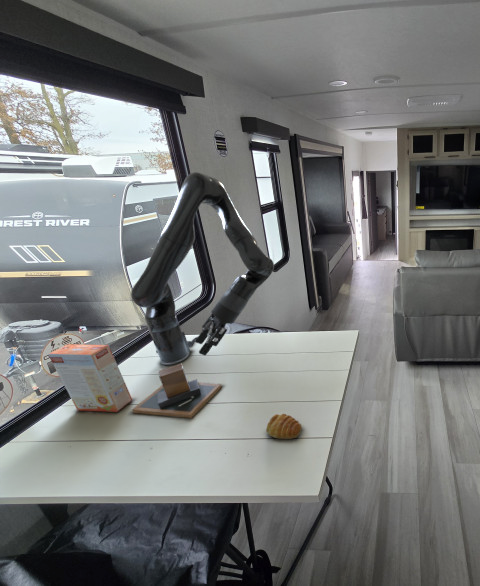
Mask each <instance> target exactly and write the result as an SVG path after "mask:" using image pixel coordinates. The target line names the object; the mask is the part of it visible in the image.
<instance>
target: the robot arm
mask: <svg viewBox="0 0 480 586" xmlns="http://www.w3.org/2000/svg"><path fill="white" fill-rule="evenodd" d="M201 204H205V205H208V206H210V207H211V208H212V209H213V210H214V211H215V212H216V214H218V216H219V218H220V219H221V223H222V228H223V232H224V234H225V236H226V237H227V239H228V241H229V242H230V243H231V245H232V246H233V248H234V249H235V250H236V251H237V252H238V255H239V257H240V259H241V261H242V263H243V265H244V266H245V268H246V269H247V271H246V272H245V273H244V274H243V275H239V276H237V277H236V278H235V279H234V280H233V282H232V284H231V285H230V286H229V288H228V289H227V290H226V291H225V292H224V293H223V295H222V296H221V297H220V298H219V300H218V302H217V303H216V304H215V305H214V307H213V308H212V309H211V314H210V315H209V316H208V318H207V319H206V321H205V322H204V323H203V325H202V326H201V332H200V334H199V335H197V336H196V337H194V338H193V339H192V340H191V341H190V340H188V339H187V337H186V334H185V331H182V329H181V326H180V323H179V319H178V317H177V314H176V303H175V299H174V296H173V292H172V290H171V286H170V284H169V280H170V278H171V276H172V275H173V274H174V272H176V271H177V269H178V268H179V267H180V266H181V264H182V263H183V261H184V260H185V259H186V257H187V256H188V255H189V253H190V251H191V249H192V247H193V245H194V243H195V239H196V231H195V230H196V229H195V222H194V221H195V216H196V213H197V211H199V210H198V209H199V208H200V206H201ZM274 269H275V263H274V261H273V259H272V258H270V257H269V256H268V255H266V254H265V253H264V252H263V250H262V249H261V248H260V246H259V245H258V241H257V239H256V238H255V237H254V235H253V234H252V232H251V230H249V228H248V227H247V225H246V224H245V223H244V221H243V220H242V218H241V217H240V215H239V213H238V211H237V209H236V207H235V206H234V203H233V202H232V200H231V198H230V196H229V193H228V192H227V191H226V187H225V186H224V185H223V183H222V182H221V181H220V180H219V179H217V178H215V177H212V176H210V175H207V174H204V173H201V172H197V171H194V172H191V173H189V174H188V175H187V176H186V177H185V178H184V181H183V183H182V185H181V187H180V190H179V193H178V196H177V199H176V202H175V204H174V207H173V209H172V211H171V214H170V216H169V218H168V221H167V223H166V225H165V226H164V228H163V230H162V232H161V234H160V236H159V238H158V239H157V242H156V244H155V247H154V249H153V251H152V253H151V255H150V258H149V260H148V263H147V265H146V267H145V269H144V270H143V272H142V274H141V275H140V277H139V278H138V279H137V281H136V282H135V284H134V285H133V287H132V288H131V292H130V297H131V300H132V302H133V303H134V304H135V305H136V306H138V307H140V308H145V314H144V321H145V323H146V326H147V328H148V332H149V334H150V337H151V338H152V342H153V345H154V346H155V349H156V350H155V352H156V354H157V356H158V358H159V361H160V364H161V365H163V366H171V365H172V366H173V365H177V364H180V363H181V362H183V361H184V360H186V359H187V358H189V356H190V354H191V349H190V348H192V347H193V345H194V342H195V343H197V344H199V345H202V346H201V348H200V349H199V350H198V354H199V355H202V356H206V355H207V354H208V353H209V352H210V351H211V349H212V347H217V346H218V345H219V344H220V342H221V341H222V339H223V337H224V336H225V335H226V334H227V332H228V328H226V325H227V324H230V325H232V324H234V323H235V322H236V320H237V319H238V317H239V316H240V315H241V313H242V312H243V311H244V309H245V308H246V306H247V304H248V302H249V300H250V299H251V298H252V297H253V295H254V293H256V291H257V290H258V288H259V287H260V286H262V285H263V284H264V283H265V282H266V280H268V279H269V278H270V276H271V275H272V273H273V272H274ZM203 343H204V344H203Z"/></svg>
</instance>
